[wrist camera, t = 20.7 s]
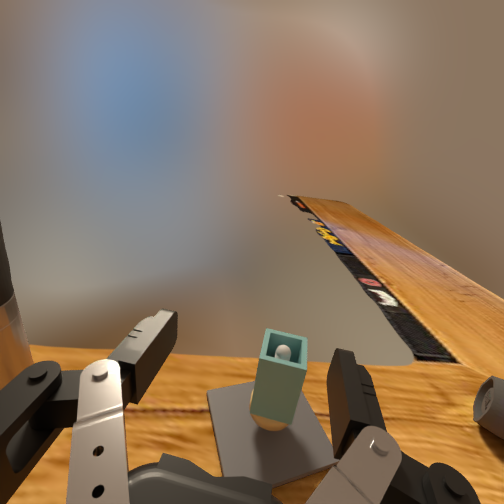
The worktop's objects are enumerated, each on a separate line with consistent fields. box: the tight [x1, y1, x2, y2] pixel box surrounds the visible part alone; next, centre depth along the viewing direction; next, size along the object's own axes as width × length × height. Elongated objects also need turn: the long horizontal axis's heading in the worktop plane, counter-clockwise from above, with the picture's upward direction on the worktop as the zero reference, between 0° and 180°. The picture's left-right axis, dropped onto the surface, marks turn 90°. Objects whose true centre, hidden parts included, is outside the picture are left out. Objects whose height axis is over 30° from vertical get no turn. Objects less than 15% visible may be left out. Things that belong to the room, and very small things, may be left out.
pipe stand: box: [207, 345, 340, 488], centre depth 38 cm, size 16×15×16 cm
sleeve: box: [249, 329, 307, 425], centre depth 37 cm, size 6×6×10 cm
